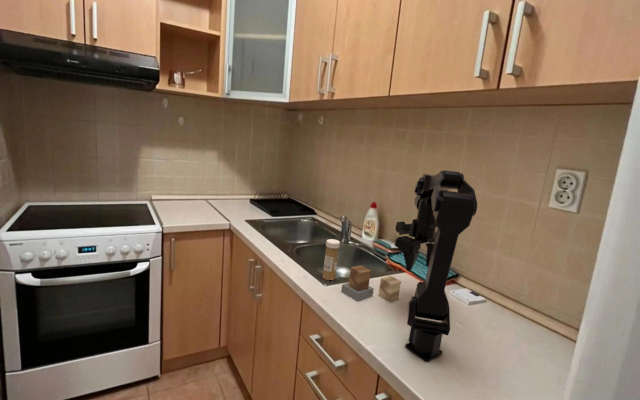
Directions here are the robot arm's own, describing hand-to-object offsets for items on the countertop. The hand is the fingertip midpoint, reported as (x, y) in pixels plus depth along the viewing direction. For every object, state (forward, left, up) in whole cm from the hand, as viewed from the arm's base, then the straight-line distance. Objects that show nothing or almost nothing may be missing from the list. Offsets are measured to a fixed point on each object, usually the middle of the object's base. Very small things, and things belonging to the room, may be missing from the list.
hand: (418, 268), depth 102 cm
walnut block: (+13, +11, -9) cm, 19 cm away
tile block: (+13, +11, -12) cm, 21 cm away
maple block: (+7, +3, -12) cm, 14 cm away
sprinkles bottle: (+26, +12, -12) cm, 31 cm away
